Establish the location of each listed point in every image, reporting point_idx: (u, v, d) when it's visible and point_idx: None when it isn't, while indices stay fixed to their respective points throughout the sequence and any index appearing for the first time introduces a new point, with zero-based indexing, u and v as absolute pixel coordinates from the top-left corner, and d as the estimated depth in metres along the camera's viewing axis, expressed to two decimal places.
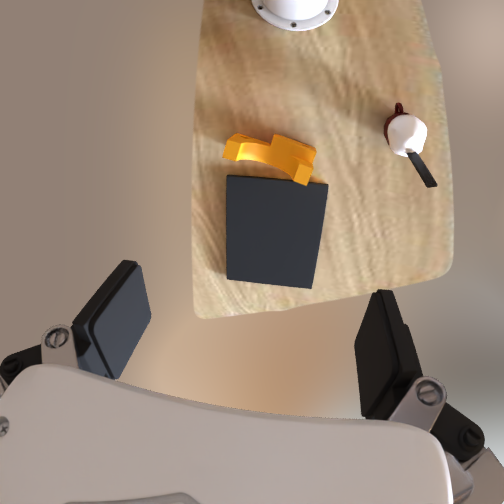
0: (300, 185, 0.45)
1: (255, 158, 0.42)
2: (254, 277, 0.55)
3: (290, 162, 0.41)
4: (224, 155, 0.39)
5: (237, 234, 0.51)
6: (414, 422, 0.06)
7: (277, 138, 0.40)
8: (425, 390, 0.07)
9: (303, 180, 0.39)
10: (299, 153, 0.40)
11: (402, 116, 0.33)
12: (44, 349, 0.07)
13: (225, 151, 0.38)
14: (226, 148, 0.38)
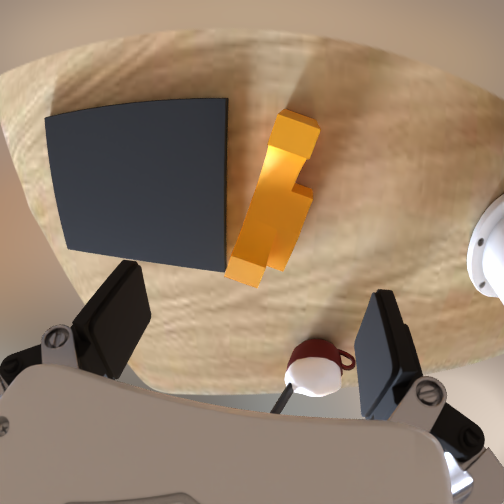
0: (218, 231, 0.27)
1: (267, 165, 0.21)
2: (56, 163, 0.25)
3: (263, 233, 0.23)
4: (282, 119, 0.16)
5: (115, 125, 0.23)
6: (414, 422, 0.06)
7: (307, 205, 0.22)
8: (425, 390, 0.07)
9: (233, 272, 0.22)
10: (279, 245, 0.24)
11: (339, 376, 0.28)
12: (44, 349, 0.07)
13: (292, 122, 0.16)
14: (299, 125, 0.16)
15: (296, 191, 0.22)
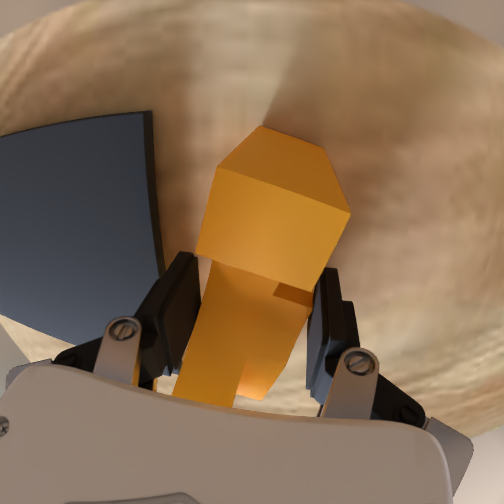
0: None
1: None
2: None
3: (223, 363, 0.12)
4: (231, 183, 0.05)
5: (5, 168, 0.12)
6: (337, 388, 0.07)
7: (302, 317, 0.12)
8: (354, 361, 0.08)
9: None
10: (253, 374, 0.13)
11: None
12: (110, 341, 0.08)
13: (262, 192, 0.05)
14: (285, 202, 0.05)
15: (282, 292, 0.12)
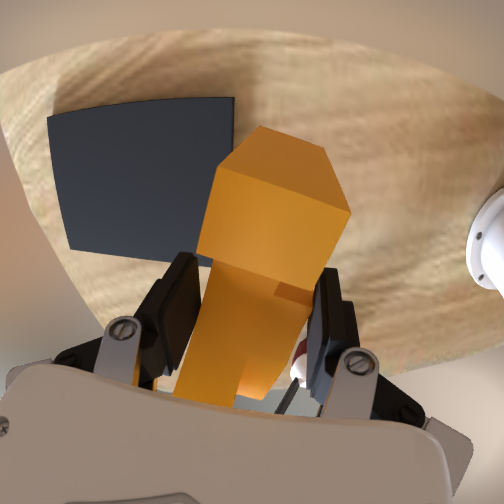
0: None
1: None
2: (59, 162, 0.25)
3: (224, 363, 0.12)
4: (231, 183, 0.05)
5: (120, 124, 0.23)
6: (337, 388, 0.07)
7: (303, 317, 0.12)
8: (354, 361, 0.08)
9: None
10: (254, 373, 0.13)
11: None
12: (111, 341, 0.08)
13: (262, 192, 0.05)
14: (285, 201, 0.05)
15: (283, 292, 0.12)
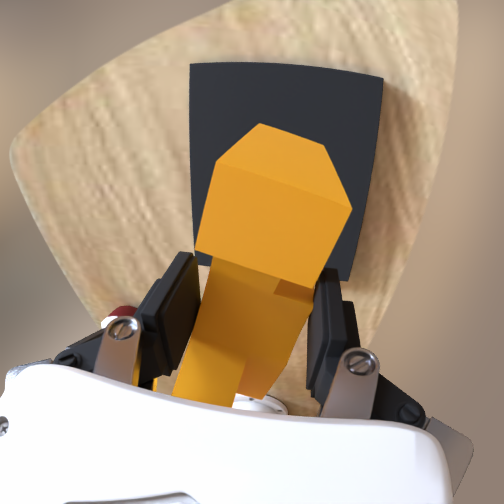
0: None
1: None
2: (319, 81, 0.20)
3: (224, 362, 0.12)
4: (230, 178, 0.05)
5: (348, 183, 0.25)
6: (338, 388, 0.07)
7: (303, 316, 0.12)
8: (355, 361, 0.08)
9: None
10: (254, 373, 0.13)
11: None
12: (110, 341, 0.08)
13: (262, 187, 0.05)
14: (285, 196, 0.05)
15: (283, 290, 0.12)
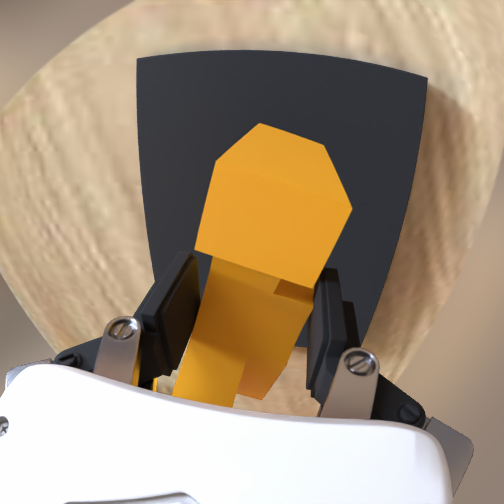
0: None
1: None
2: (333, 78, 0.13)
3: (224, 362, 0.12)
4: (230, 177, 0.05)
5: (369, 234, 0.17)
6: (338, 389, 0.07)
7: (303, 316, 0.12)
8: (354, 361, 0.08)
9: None
10: (254, 373, 0.13)
11: None
12: (110, 341, 0.08)
13: (262, 187, 0.05)
14: (285, 196, 0.05)
15: (283, 290, 0.12)
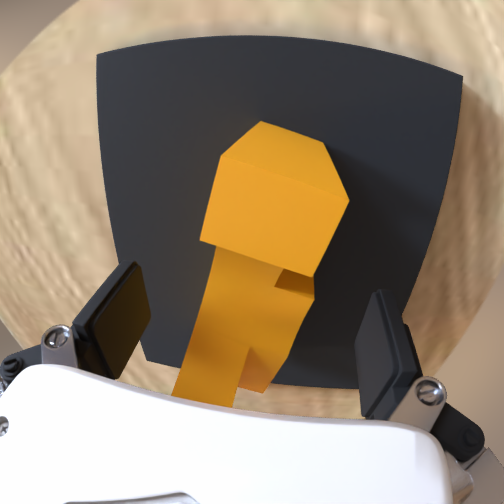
0: None
1: None
2: (344, 72, 0.09)
3: (225, 355, 0.13)
4: (234, 171, 0.06)
5: (385, 269, 0.13)
6: (414, 422, 0.06)
7: (303, 309, 0.12)
8: (425, 390, 0.07)
9: None
10: (255, 366, 0.13)
11: None
12: (44, 349, 0.07)
13: (264, 180, 0.06)
14: (286, 188, 0.06)
15: (283, 284, 0.12)
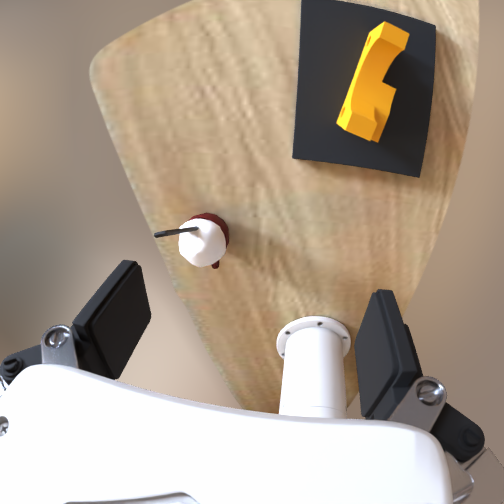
0: (330, 158, 0.32)
1: (367, 61, 0.24)
2: (395, 21, 0.22)
3: (366, 107, 0.25)
4: (387, 24, 0.18)
5: (418, 94, 0.26)
6: (414, 422, 0.06)
7: (392, 93, 0.25)
8: (425, 390, 0.07)
9: (353, 126, 0.24)
10: (376, 119, 0.26)
11: (211, 263, 0.37)
12: (44, 349, 0.07)
13: (393, 27, 0.18)
14: (397, 29, 0.18)
15: None
